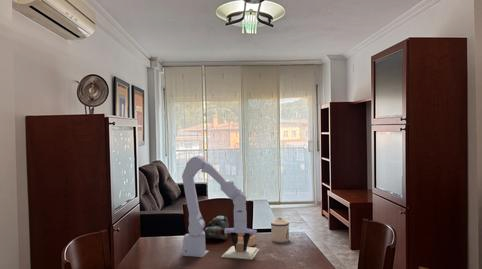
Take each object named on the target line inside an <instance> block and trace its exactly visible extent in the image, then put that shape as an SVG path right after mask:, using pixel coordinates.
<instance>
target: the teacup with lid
mask: <svg viewBox="0 0 482 269" xmlns="http://www.w3.org/2000/svg"><path fill="white" fill-rule="evenodd" d="M270 225H271V228H270V229H271V241H272V242H276V243H285V242H286V243H287V242H289V241H290V234H289V232H290V230H289V228H290V226H289V225H290V222H289V221H288V220H286V219H284V218H282V216H278V217H277V218H276V219H274V220H271V223H270Z"/></svg>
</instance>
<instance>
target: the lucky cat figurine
mask: <svg viewBox="0 0 482 269" xmlns="http://www.w3.org/2000/svg"><path fill="white" fill-rule="evenodd" d="M225 228H230V225H229V215H228V214H227V215H225V216H224V215H217V216H216V217H213V219H212V220H211V221H209V222H208V226H207V227H205V228H204V229H203V230H204V232H205V239H215V240H217V239H218V240H222V241H226V240H227V239H228V233H225Z"/></svg>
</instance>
